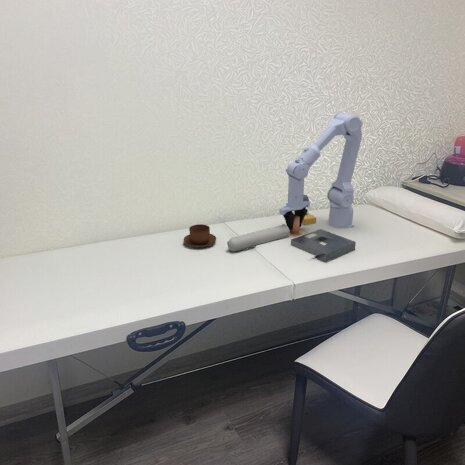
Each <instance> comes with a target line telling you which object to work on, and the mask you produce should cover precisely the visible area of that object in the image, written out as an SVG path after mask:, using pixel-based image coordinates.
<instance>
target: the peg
mask: <svg viewBox="0 0 465 465" xmlns="http://www.w3.org/2000/svg"><path fill="white" fill-rule="evenodd" d="M299 224H300V216H297V215H296V216H295V219H294V223H293V229H292V230H290V233H299V229H300V228H299Z"/></svg>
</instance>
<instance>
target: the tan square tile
mask: <svg viewBox="0 0 465 465" xmlns="http://www.w3.org/2000/svg"><path fill="white" fill-rule="evenodd" d="M308 233H309V231H307V230H304V229H302V228H299V233H290V236H289V237H292V238H297V237H300V236H302V235H305V234H308Z"/></svg>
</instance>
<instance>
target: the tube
mask: <svg viewBox="0 0 465 465" xmlns="http://www.w3.org/2000/svg"><path fill="white" fill-rule="evenodd" d="M289 237H291V236H290V230H289V228H288V226H287V225H286V223H285V224H284V223H282V224H281V225H277V226H273V227H270V228H266V229H261V230H257V231H253V232H249V233H245V234H241V235H237V236H234V237H230V238H229V240H228V241H227V242H226V244H227V248H228V250H229V251H230V252H234V253H235V251H237V252H240V251H243V249H244V250H247V248H248V249H251V248H254V247H257V246H258V245H262V244H265V243H269V242H272V241H277V240H281V239H284V238H289ZM239 250H240V251H239Z"/></svg>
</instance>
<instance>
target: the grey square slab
mask: <svg viewBox="0 0 465 465" xmlns="http://www.w3.org/2000/svg"><path fill="white" fill-rule="evenodd" d="M322 243H323V244H322ZM356 244H357V242H356V241H355V240H352V239H349V238H347V237H344V236H340V235H338V234H335V233H334V232H330V231H327V230H325V229H322V228H319V229H316V230H314V231H311V232H308V233H305V234H302V235H299V236H297V237H293V238H292V239H290V246H293V247H295V248H297V249H299V250H302V251H304V252H306V253H309V254H311V255H314V256H313V258H315V259H316V258H317V259H316V260H318V261H320V262H321V261H322V262H324V263H328V262H331V261H332V260H334V259H337V258H339V257H341V256H343V255H346V254H348V253H350V252H353V251H355V250H356Z"/></svg>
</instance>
